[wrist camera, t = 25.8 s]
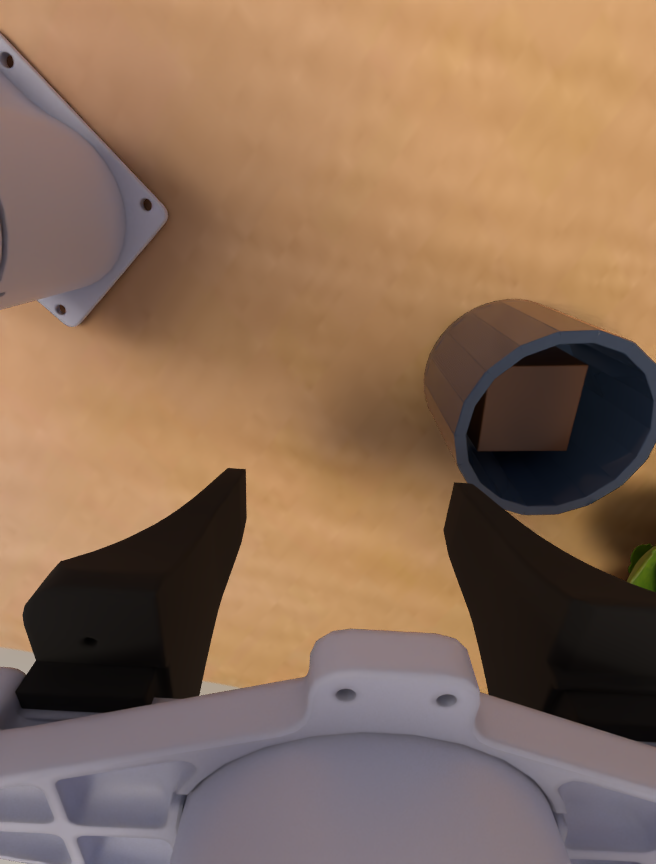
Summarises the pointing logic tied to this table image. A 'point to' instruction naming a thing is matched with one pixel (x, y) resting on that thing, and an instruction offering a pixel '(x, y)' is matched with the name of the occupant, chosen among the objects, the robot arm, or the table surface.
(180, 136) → the table surface
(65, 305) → the robot arm
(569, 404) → the block
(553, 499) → the cup
